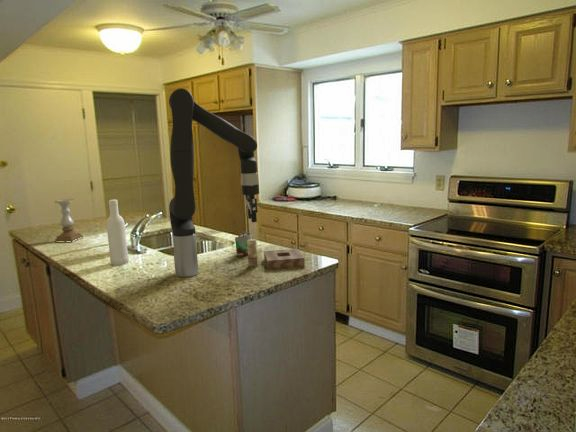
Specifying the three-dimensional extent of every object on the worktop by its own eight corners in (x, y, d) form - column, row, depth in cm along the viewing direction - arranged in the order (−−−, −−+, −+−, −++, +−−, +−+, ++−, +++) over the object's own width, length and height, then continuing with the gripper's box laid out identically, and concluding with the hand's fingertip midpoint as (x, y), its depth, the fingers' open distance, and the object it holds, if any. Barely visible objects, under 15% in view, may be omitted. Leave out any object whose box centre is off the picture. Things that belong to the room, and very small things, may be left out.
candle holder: (67, 237, 251) (61, 198, 246) (83, 238, 249) (78, 198, 245) (54, 242, 240) (49, 201, 236) (71, 242, 238) (66, 201, 234)
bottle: (107, 263, 194) (100, 200, 188) (124, 259, 200) (117, 198, 194) (115, 266, 189) (108, 201, 183) (131, 262, 194) (125, 199, 189)
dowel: (248, 268, 180) (247, 241, 178) (248, 265, 184) (246, 239, 182) (258, 267, 181) (256, 241, 178) (257, 264, 185) (256, 238, 183)
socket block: (267, 269, 177) (267, 260, 177) (264, 259, 193) (264, 251, 192) (304, 266, 180) (304, 258, 179) (298, 256, 195) (297, 248, 195)
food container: (248, 258, 196) (247, 237, 194) (235, 257, 197) (234, 237, 195) (255, 251, 208) (254, 231, 206) (243, 250, 209) (242, 231, 207)
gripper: (239, 182, 184) (241, 218, 187) (243, 185, 171) (246, 224, 174) (255, 181, 186) (257, 216, 189) (261, 184, 172) (264, 222, 175)
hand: (252, 220), depth 181 cm, fingers open, 8 cm apart
